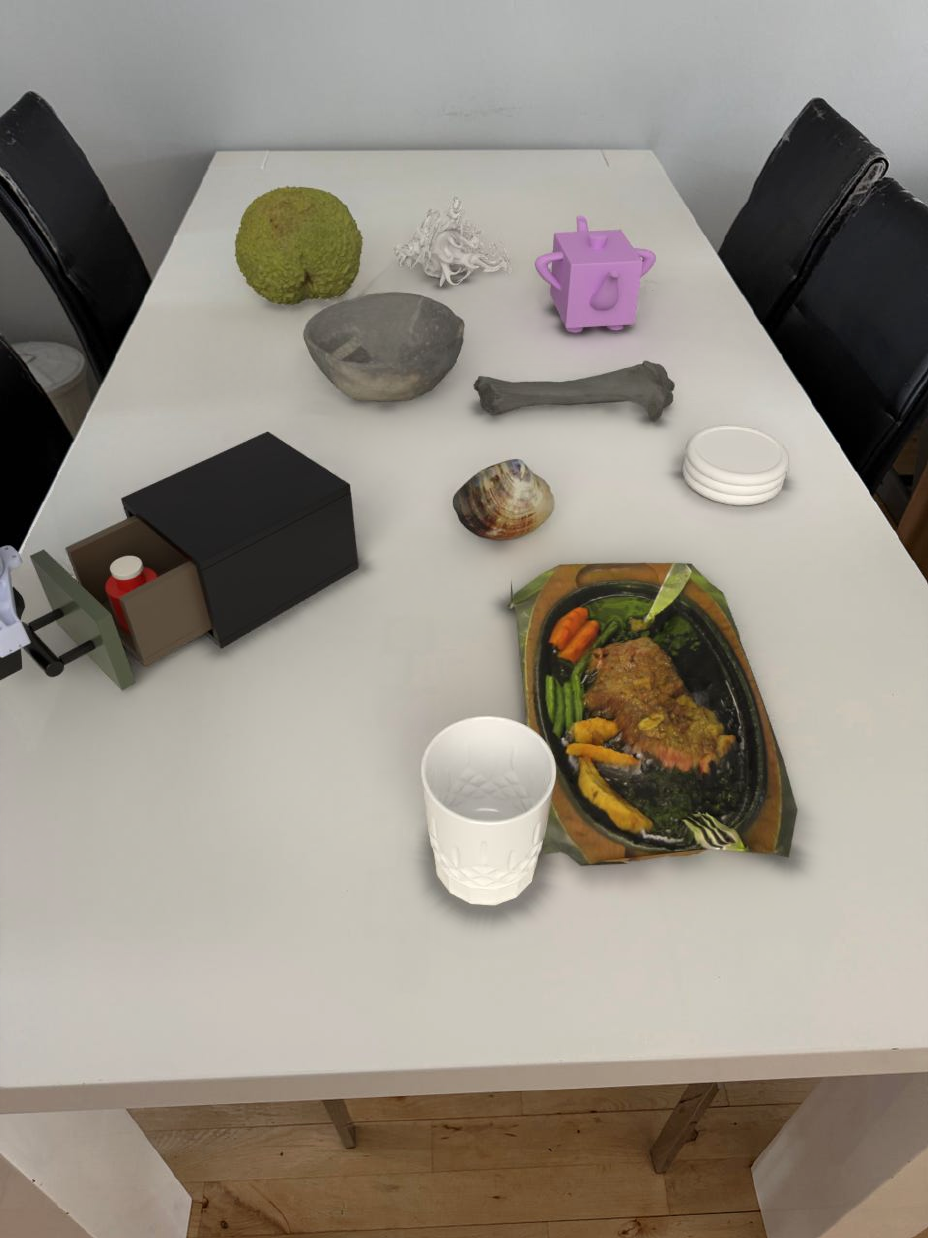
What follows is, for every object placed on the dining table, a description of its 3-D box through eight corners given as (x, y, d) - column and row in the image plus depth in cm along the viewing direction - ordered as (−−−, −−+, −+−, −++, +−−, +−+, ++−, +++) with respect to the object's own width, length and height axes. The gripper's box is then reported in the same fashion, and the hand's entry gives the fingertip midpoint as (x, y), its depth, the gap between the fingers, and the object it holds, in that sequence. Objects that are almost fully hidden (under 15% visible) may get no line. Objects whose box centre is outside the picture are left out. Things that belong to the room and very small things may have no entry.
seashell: (543, 510, 88) (549, 439, 83) (560, 547, 84) (567, 474, 78) (447, 523, 87) (446, 451, 81) (459, 560, 82) (459, 487, 77)
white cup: (490, 939, 56) (494, 849, 49) (400, 863, 60) (392, 769, 53) (569, 857, 60) (583, 763, 53) (481, 790, 64) (483, 695, 57)
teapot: (668, 318, 119) (681, 233, 111) (608, 354, 111) (618, 266, 104) (573, 286, 126) (580, 204, 119) (512, 318, 119) (515, 233, 111)
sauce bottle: (116, 638, 72) (98, 586, 68) (118, 605, 75) (99, 553, 71) (168, 629, 73) (152, 577, 69) (167, 597, 76) (152, 545, 72)
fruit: (289, 335, 115) (221, 220, 108) (267, 331, 127) (204, 227, 120) (395, 269, 117) (335, 152, 110) (363, 271, 130) (307, 166, 123)
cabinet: (221, 649, 74) (199, 563, 68) (146, 582, 80) (120, 497, 74) (358, 568, 82) (350, 484, 75) (281, 512, 88) (267, 430, 81)
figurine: (389, 240, 130) (430, 167, 124) (477, 292, 136) (521, 225, 130) (390, 277, 121) (435, 199, 115) (485, 331, 127) (532, 260, 121)
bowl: (365, 338, 114) (361, 275, 109) (490, 371, 108) (492, 306, 103) (279, 403, 103) (269, 336, 97) (413, 443, 97) (410, 374, 91)
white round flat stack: (778, 516, 87) (787, 486, 85) (674, 496, 90) (680, 466, 87) (785, 461, 94) (794, 431, 92) (689, 444, 97) (694, 415, 94)
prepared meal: (830, 827, 58) (547, 837, 57) (815, 859, 60) (543, 869, 59) (714, 558, 79) (506, 562, 78) (706, 589, 81) (504, 594, 80)
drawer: (73, 719, 68) (42, 650, 63) (11, 648, 73) (-23, 579, 68) (267, 607, 77) (253, 538, 72) (198, 551, 82) (181, 484, 77)
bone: (665, 398, 104) (674, 348, 100) (676, 428, 99) (685, 376, 95) (473, 398, 104) (473, 349, 100) (474, 428, 99) (474, 377, 95)
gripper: (44, 546, 56) (104, 693, 66) (-52, 454, 64) (14, 598, 73) (-71, 600, 53) (9, 748, 62) (-159, 496, 60) (-75, 641, 70)
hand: (5, 670), depth 67 cm, fingers closed
